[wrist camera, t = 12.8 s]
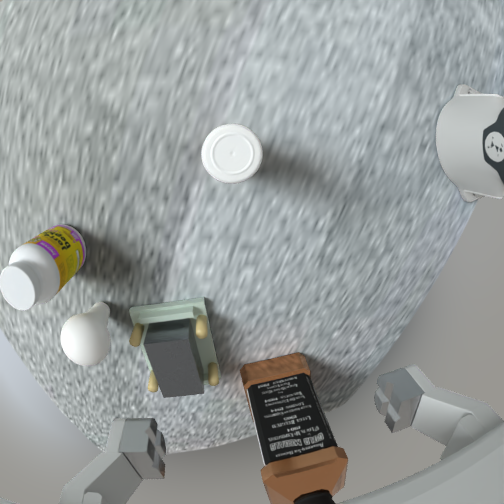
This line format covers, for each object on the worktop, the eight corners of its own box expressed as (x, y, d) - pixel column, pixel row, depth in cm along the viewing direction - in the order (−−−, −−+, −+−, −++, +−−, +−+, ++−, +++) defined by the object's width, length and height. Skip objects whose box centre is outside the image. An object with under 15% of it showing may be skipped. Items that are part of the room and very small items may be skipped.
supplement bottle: (92, 231, 35) (47, 270, 23) (83, 278, 37) (43, 329, 25) (48, 216, 34) (-7, 247, 22) (42, 262, 35) (-8, 305, 23)
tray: (203, 297, 40) (203, 315, 36) (220, 372, 44) (222, 394, 40) (130, 307, 39) (123, 325, 35) (156, 380, 43) (153, 401, 39)
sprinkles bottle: (250, 158, 35) (275, 164, 23) (217, 179, 36) (222, 196, 23) (230, 125, 34) (243, 111, 21) (196, 146, 34) (189, 144, 21)
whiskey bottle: (307, 396, 49) (375, 561, 19) (250, 409, 48) (289, 586, 18) (303, 350, 45) (393, 543, 15) (238, 365, 44) (281, 577, 14)
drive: (189, 317, 39) (188, 338, 35) (203, 369, 42) (204, 393, 38) (149, 322, 39) (143, 344, 34) (166, 374, 42) (163, 397, 37)
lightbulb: (114, 333, 40) (94, 385, 30) (77, 312, 38) (48, 358, 28) (131, 301, 39) (111, 350, 29) (92, 278, 37) (60, 321, 27)
